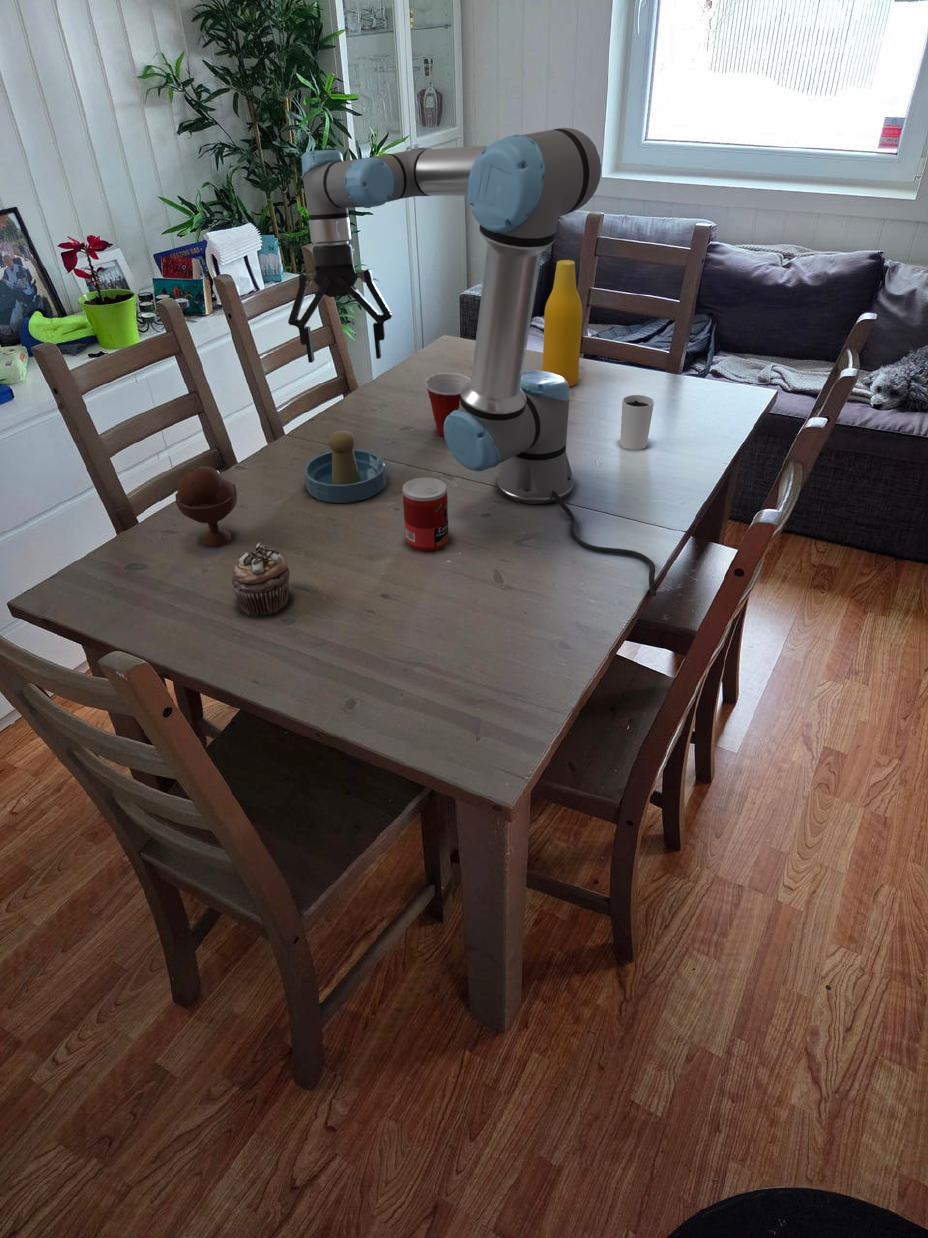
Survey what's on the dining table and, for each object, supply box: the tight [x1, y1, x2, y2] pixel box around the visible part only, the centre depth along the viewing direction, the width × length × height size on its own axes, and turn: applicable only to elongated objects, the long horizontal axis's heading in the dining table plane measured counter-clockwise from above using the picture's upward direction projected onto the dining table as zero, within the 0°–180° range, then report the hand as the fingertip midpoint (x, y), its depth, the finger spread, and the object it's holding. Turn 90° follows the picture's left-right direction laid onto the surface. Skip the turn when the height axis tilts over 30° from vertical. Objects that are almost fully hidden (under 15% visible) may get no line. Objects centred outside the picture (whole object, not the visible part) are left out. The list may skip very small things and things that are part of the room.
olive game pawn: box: [328, 430, 361, 485], centre depth 168 cm, size 6×6×11 cm
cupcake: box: [229, 542, 290, 617], centre depth 136 cm, size 10×10×10 cm
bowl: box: [303, 448, 387, 504], centre depth 171 cm, size 16×16×4 cm
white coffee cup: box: [619, 394, 655, 451], centre depth 181 cm, size 7×7×10 cm
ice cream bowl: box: [174, 465, 238, 547], centre depth 151 cm, size 11×11×15 cm
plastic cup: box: [424, 372, 471, 437], centre depth 187 cm, size 11×11×12 cm
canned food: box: [402, 477, 450, 552], centre depth 150 cm, size 8×8×11 cm
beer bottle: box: [541, 259, 583, 388], centre depth 205 cm, size 9×9×29 cm
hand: (345, 359), depth 168 cm, fingers open, 13 cm apart
